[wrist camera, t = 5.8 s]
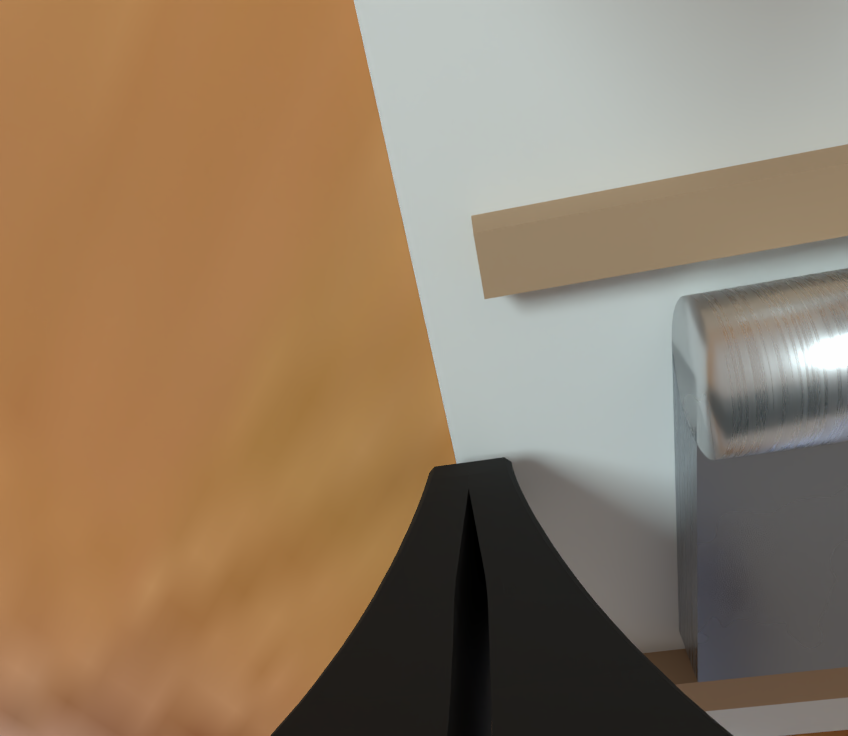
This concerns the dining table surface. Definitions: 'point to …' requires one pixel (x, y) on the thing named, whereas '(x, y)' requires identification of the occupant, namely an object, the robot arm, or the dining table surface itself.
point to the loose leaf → (762, 476)
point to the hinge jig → (610, 254)
